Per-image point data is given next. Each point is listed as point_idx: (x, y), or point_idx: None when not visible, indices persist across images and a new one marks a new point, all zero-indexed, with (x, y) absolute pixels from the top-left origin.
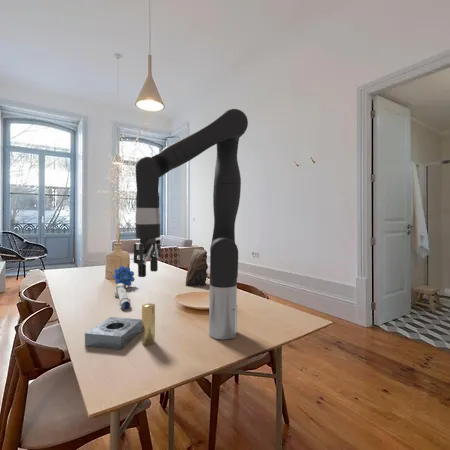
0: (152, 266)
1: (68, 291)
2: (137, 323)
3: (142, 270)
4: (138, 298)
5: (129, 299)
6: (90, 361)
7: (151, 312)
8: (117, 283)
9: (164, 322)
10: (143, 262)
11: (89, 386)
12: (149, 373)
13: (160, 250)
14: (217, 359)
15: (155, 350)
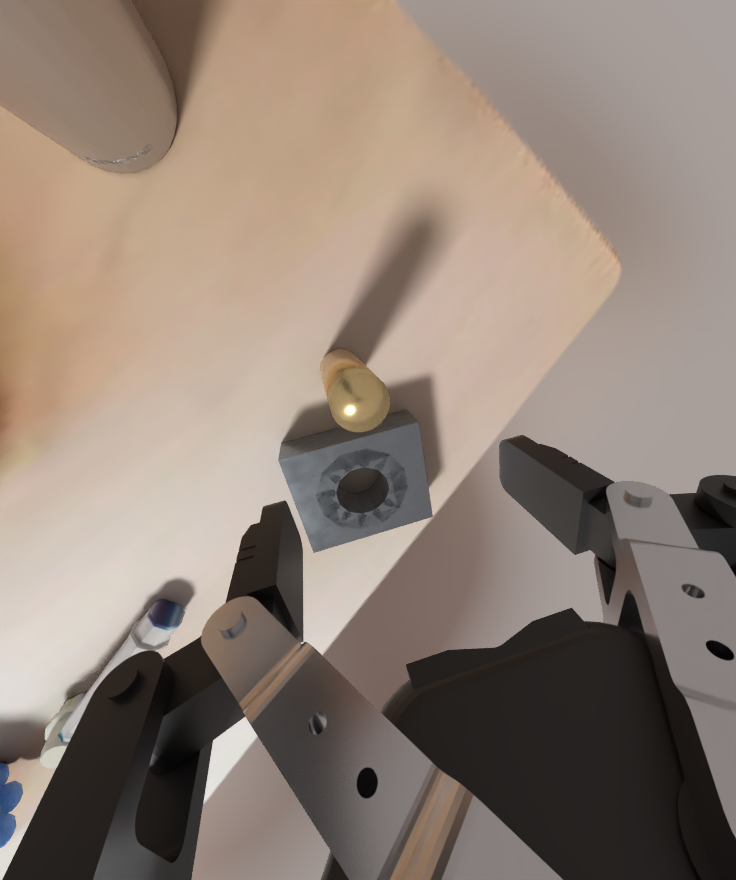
0: (296, 562)
1: None
2: (314, 450)
3: (581, 463)
4: (50, 652)
5: (130, 637)
6: (474, 429)
7: (369, 370)
8: (18, 788)
9: (175, 424)
10: (664, 500)
11: (555, 350)
12: (486, 247)
13: (44, 819)
14: (340, 17)
15: (373, 314)
